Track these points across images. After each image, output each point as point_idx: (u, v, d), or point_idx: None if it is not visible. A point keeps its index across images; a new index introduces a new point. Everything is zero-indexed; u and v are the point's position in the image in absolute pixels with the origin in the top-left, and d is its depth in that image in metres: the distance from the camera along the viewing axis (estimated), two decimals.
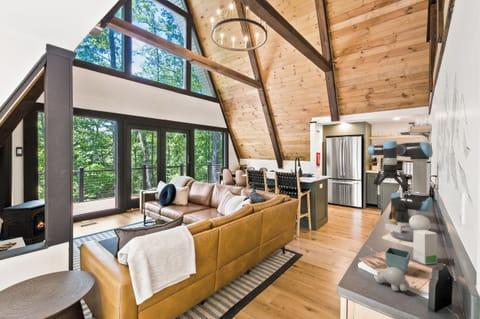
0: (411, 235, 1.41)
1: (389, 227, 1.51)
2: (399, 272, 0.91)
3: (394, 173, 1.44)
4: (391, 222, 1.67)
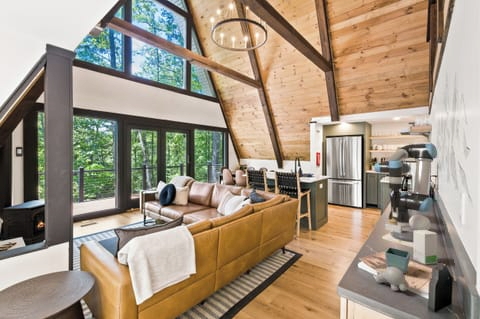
0: (411, 235, 1.41)
1: (389, 227, 1.51)
2: (399, 272, 0.91)
3: None
4: (391, 222, 1.67)
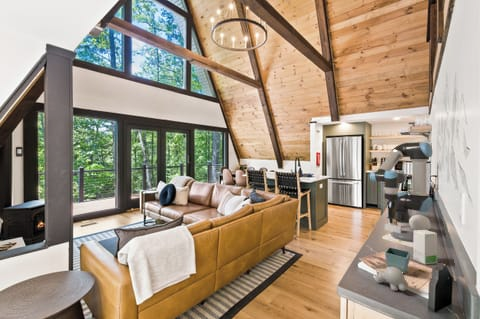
0: (411, 235, 1.41)
1: (388, 227, 1.50)
2: (398, 272, 0.91)
3: (388, 202, 1.50)
4: None
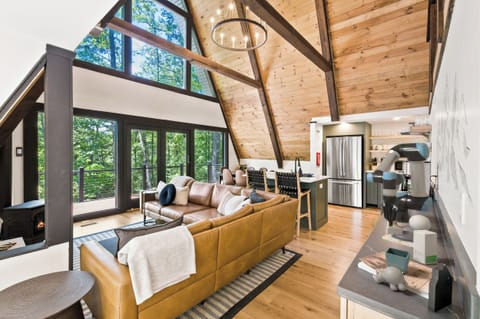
0: (411, 234, 1.43)
1: (391, 231, 1.44)
2: (398, 271, 0.91)
3: (391, 204, 1.43)
4: None
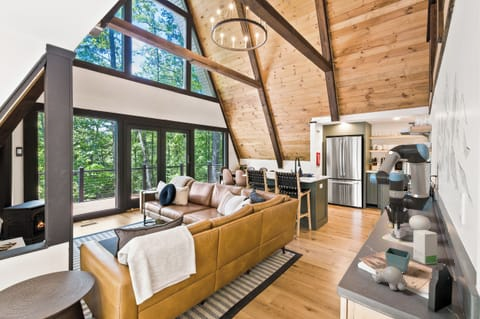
0: (409, 233, 1.45)
1: (401, 234, 1.37)
2: (397, 271, 0.91)
3: (401, 207, 1.37)
4: (391, 222, 1.67)
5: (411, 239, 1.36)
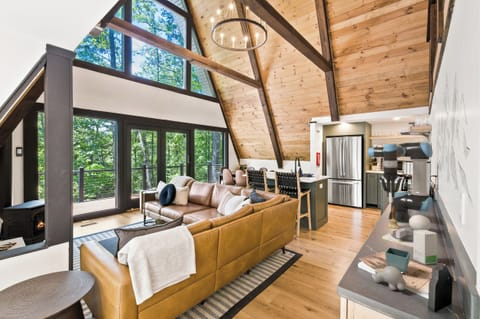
0: (409, 233, 1.45)
1: (401, 234, 1.37)
2: (396, 271, 0.91)
3: (395, 175, 1.44)
4: (391, 222, 1.67)
5: (411, 239, 1.36)
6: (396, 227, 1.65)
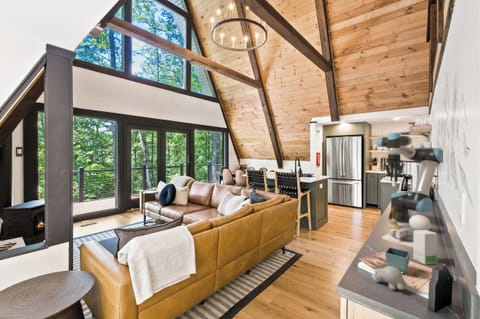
0: (409, 233, 1.45)
1: (401, 234, 1.37)
2: (396, 271, 0.91)
3: (398, 162, 1.58)
4: (391, 222, 1.67)
5: (411, 239, 1.36)
6: (396, 227, 1.65)
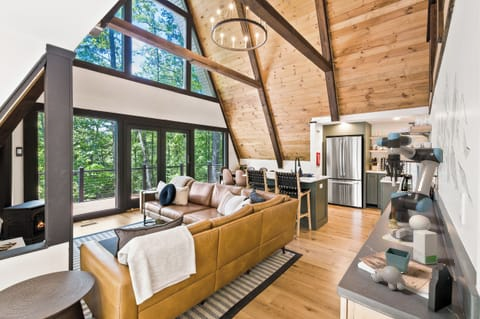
0: (409, 233, 1.45)
1: (401, 234, 1.37)
2: (396, 271, 0.92)
3: (398, 161, 1.58)
4: (391, 222, 1.67)
5: (411, 239, 1.36)
6: (396, 227, 1.65)
